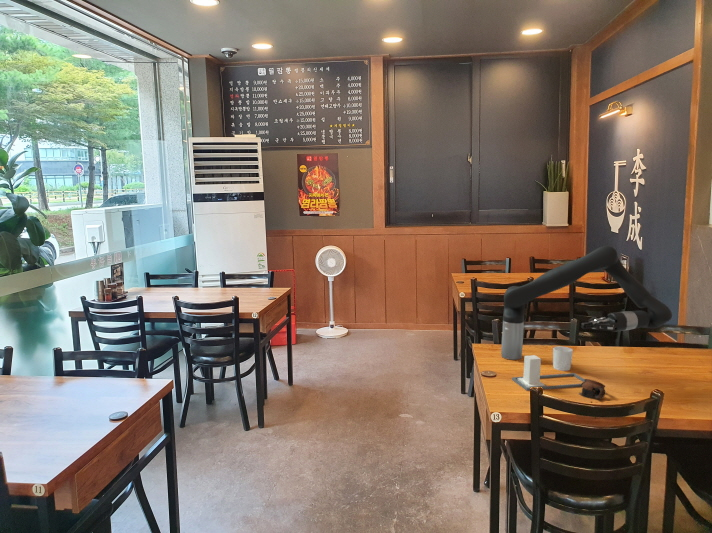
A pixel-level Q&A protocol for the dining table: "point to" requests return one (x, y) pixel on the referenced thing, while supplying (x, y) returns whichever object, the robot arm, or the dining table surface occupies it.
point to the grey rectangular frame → (552, 377)
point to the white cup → (562, 358)
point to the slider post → (531, 372)
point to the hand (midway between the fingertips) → (582, 326)
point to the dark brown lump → (590, 386)
